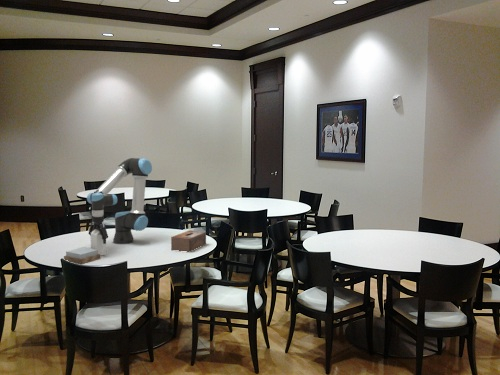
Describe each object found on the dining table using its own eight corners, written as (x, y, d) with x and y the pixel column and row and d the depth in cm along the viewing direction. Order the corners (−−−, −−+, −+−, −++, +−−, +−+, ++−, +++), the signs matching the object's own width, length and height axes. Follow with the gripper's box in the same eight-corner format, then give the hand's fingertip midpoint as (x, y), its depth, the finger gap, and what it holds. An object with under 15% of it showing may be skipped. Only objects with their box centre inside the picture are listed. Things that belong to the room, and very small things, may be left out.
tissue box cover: (188, 252, 325) (188, 238, 324) (171, 250, 330) (171, 237, 329) (206, 244, 348) (206, 232, 347) (189, 243, 354) (189, 230, 353)
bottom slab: (83, 255, 314) (83, 250, 313) (100, 258, 306) (100, 254, 305) (64, 260, 300) (63, 256, 299) (80, 264, 292) (80, 259, 292)
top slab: (83, 251, 312) (83, 247, 312) (98, 254, 305) (97, 249, 305) (66, 256, 300) (66, 251, 299) (80, 259, 293) (80, 254, 293)
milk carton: (100, 252, 320) (99, 226, 318) (106, 254, 316) (105, 227, 314) (91, 254, 315) (90, 227, 313) (97, 256, 310) (96, 229, 308)
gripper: (82, 214, 317) (83, 244, 320) (103, 218, 302) (103, 250, 304) (92, 213, 323) (93, 242, 325) (113, 217, 307) (113, 248, 310)
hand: (98, 246), depth 315 cm, fingers open, 13 cm apart
